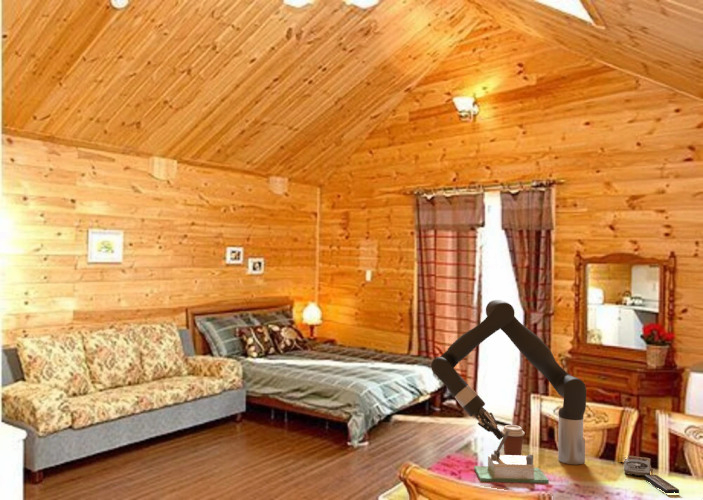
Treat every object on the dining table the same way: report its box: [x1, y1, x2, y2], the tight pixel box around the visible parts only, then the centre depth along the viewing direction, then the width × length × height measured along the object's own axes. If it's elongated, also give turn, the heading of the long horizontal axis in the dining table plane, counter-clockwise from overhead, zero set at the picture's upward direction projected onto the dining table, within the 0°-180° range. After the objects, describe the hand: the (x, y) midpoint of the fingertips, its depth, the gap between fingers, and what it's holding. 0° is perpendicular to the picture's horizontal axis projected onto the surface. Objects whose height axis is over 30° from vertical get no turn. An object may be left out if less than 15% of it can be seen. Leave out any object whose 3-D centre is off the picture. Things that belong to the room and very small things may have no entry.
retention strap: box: [495, 429, 510, 456], centre depth 220 cm, size 12×3×1 cm
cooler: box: [473, 449, 550, 484], centre depth 219 cm, size 24×13×8 cm, turn 88°
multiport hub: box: [644, 474, 680, 494], centre depth 210 cm, size 4×14×2 cm, turn 2°
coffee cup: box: [500, 424, 526, 456], centre depth 240 cm, size 9×9×12 cm
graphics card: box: [623, 455, 652, 476], centre depth 227 cm, size 17×4×12 cm
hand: (501, 437), depth 220 cm, fingers closed
